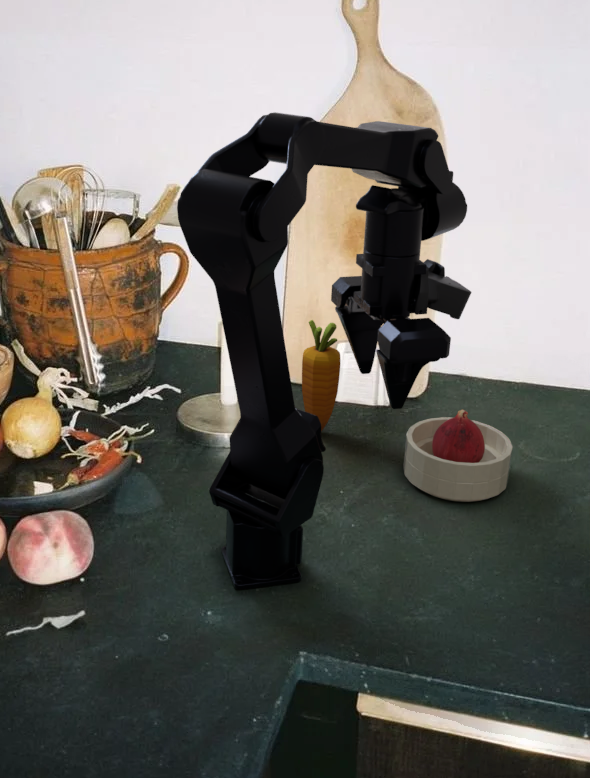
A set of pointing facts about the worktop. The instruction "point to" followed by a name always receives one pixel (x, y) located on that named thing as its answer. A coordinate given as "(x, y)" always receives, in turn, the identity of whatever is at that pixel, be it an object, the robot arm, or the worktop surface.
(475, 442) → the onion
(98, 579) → the worktop surface
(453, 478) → the bowl
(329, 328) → the carrot
